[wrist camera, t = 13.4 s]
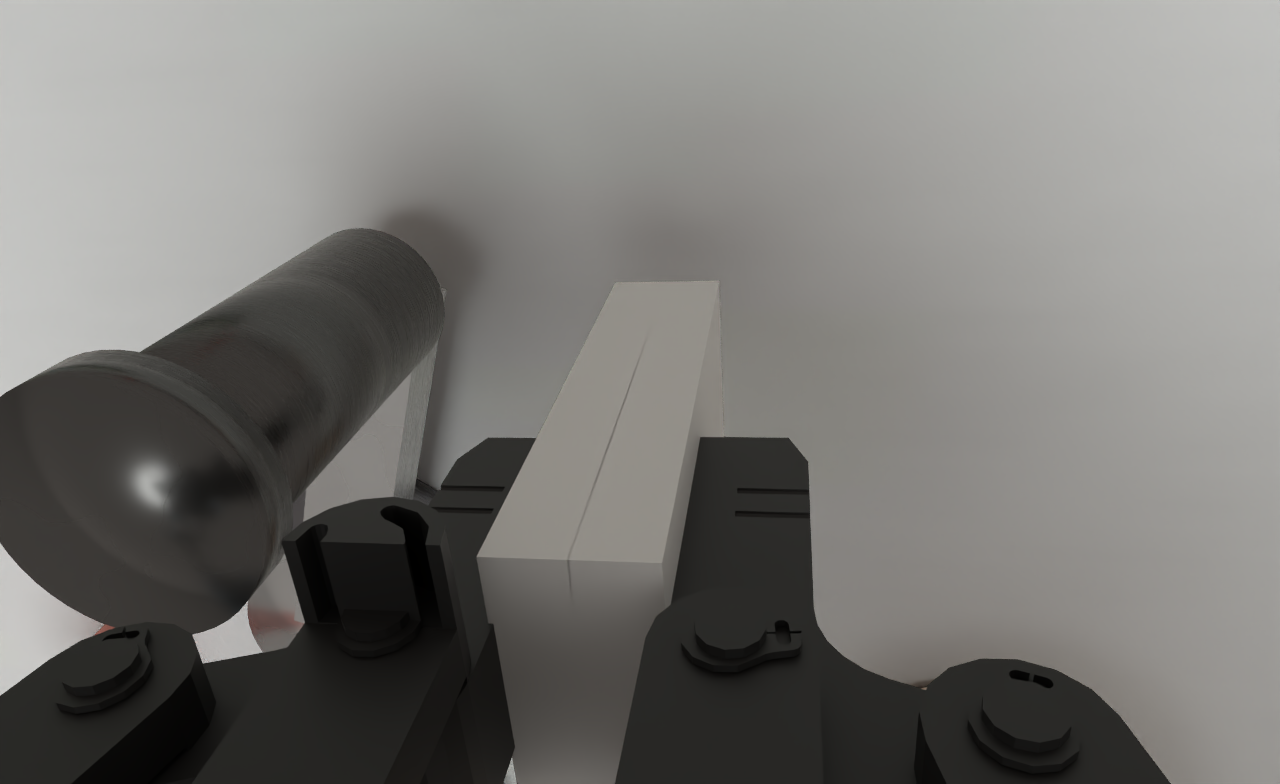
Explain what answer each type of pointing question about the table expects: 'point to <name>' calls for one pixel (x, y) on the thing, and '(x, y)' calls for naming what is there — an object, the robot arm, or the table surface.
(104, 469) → the crank arm
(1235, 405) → the table surface
